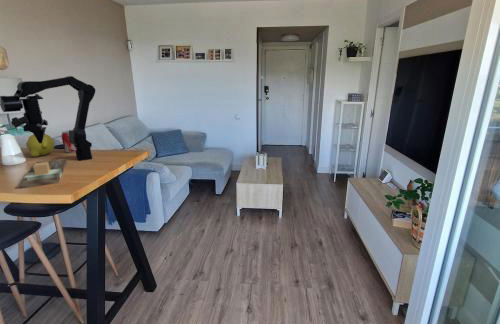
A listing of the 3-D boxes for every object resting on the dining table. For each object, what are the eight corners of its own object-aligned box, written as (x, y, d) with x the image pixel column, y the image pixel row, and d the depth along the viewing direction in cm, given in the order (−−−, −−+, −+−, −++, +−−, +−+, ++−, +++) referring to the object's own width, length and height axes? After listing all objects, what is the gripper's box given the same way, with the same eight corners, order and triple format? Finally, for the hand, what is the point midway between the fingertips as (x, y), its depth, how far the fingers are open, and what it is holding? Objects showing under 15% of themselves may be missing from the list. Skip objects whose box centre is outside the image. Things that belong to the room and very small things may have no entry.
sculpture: (25, 151, 157) (30, 128, 156) (51, 156, 164) (57, 134, 164) (21, 156, 145) (27, 132, 144) (50, 161, 152) (56, 138, 151)
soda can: (68, 153, 157) (64, 133, 154) (62, 152, 161) (58, 132, 158) (81, 151, 163) (77, 131, 160) (75, 149, 167) (71, 130, 163)
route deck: (66, 163, 139) (64, 154, 138) (58, 182, 112) (55, 172, 111) (38, 166, 134) (35, 158, 133) (21, 188, 107) (18, 177, 105)
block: (50, 170, 120) (48, 161, 118) (48, 173, 116) (46, 164, 115) (37, 172, 118) (35, 163, 116) (35, 175, 114) (33, 166, 113)
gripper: (15, 109, 130) (24, 141, 134) (3, 113, 114) (13, 149, 118) (44, 107, 134) (51, 139, 139) (36, 111, 118) (45, 146, 123)
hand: (40, 143), depth 130 cm, fingers closed
